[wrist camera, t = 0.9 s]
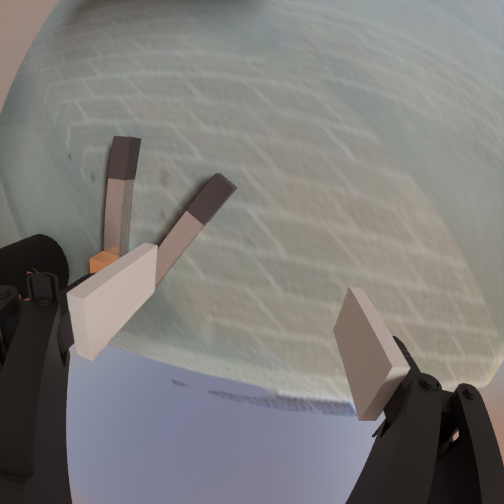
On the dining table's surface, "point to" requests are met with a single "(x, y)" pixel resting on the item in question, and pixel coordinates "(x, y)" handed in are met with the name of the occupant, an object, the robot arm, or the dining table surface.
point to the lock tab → (101, 261)
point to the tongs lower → (120, 194)
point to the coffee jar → (32, 263)
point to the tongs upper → (192, 223)
